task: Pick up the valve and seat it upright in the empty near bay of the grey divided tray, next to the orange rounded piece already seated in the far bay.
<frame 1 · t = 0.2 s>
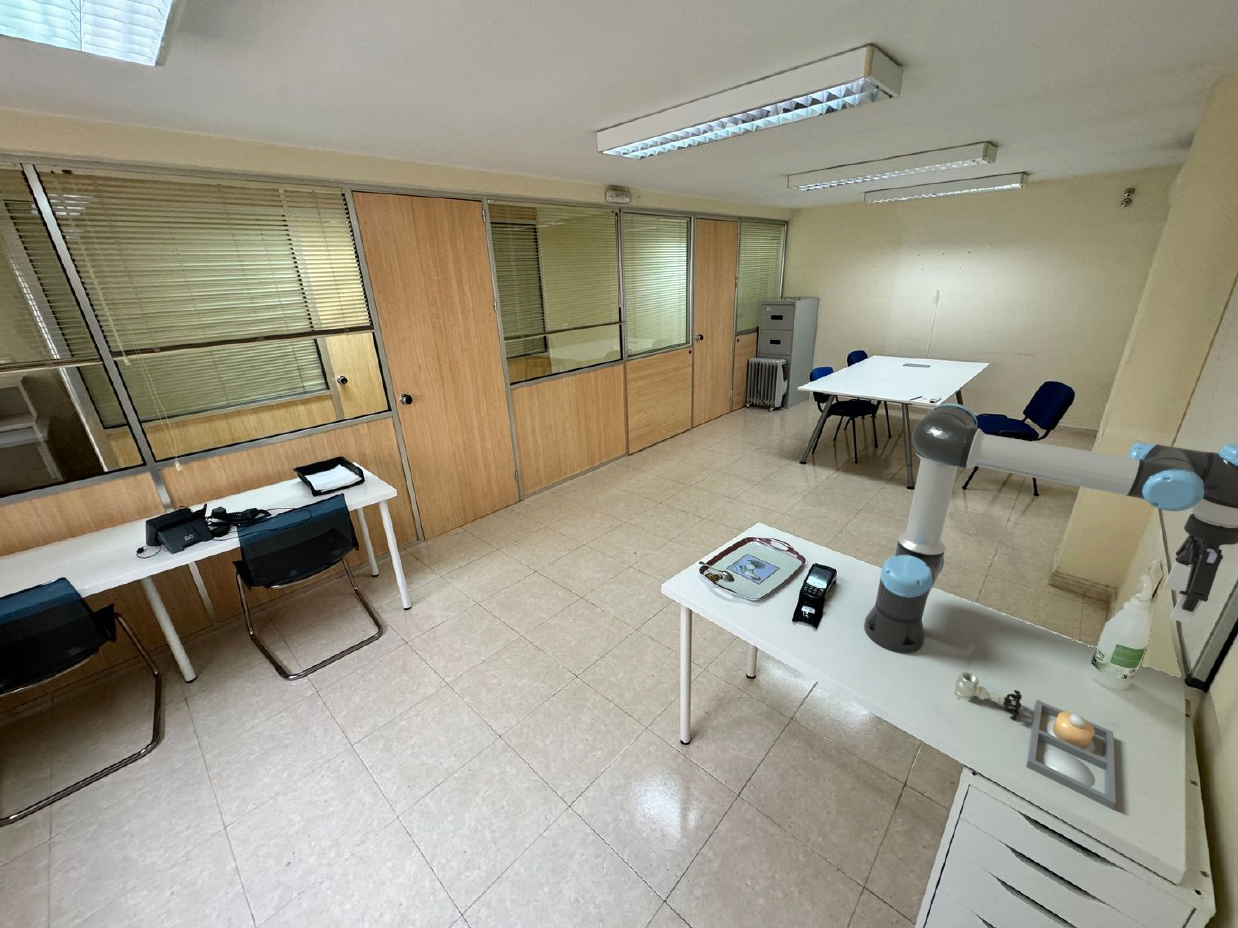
hand: (1175, 604, 105), 28 cm above the table, fingers open, 13 cm apart
orange rounded piece: (1070, 736, 106), point 1 cm above the table, touching grey divided tray
valve: (982, 704, 116), on the table
grey divided tray: (1068, 754, 103), on the table
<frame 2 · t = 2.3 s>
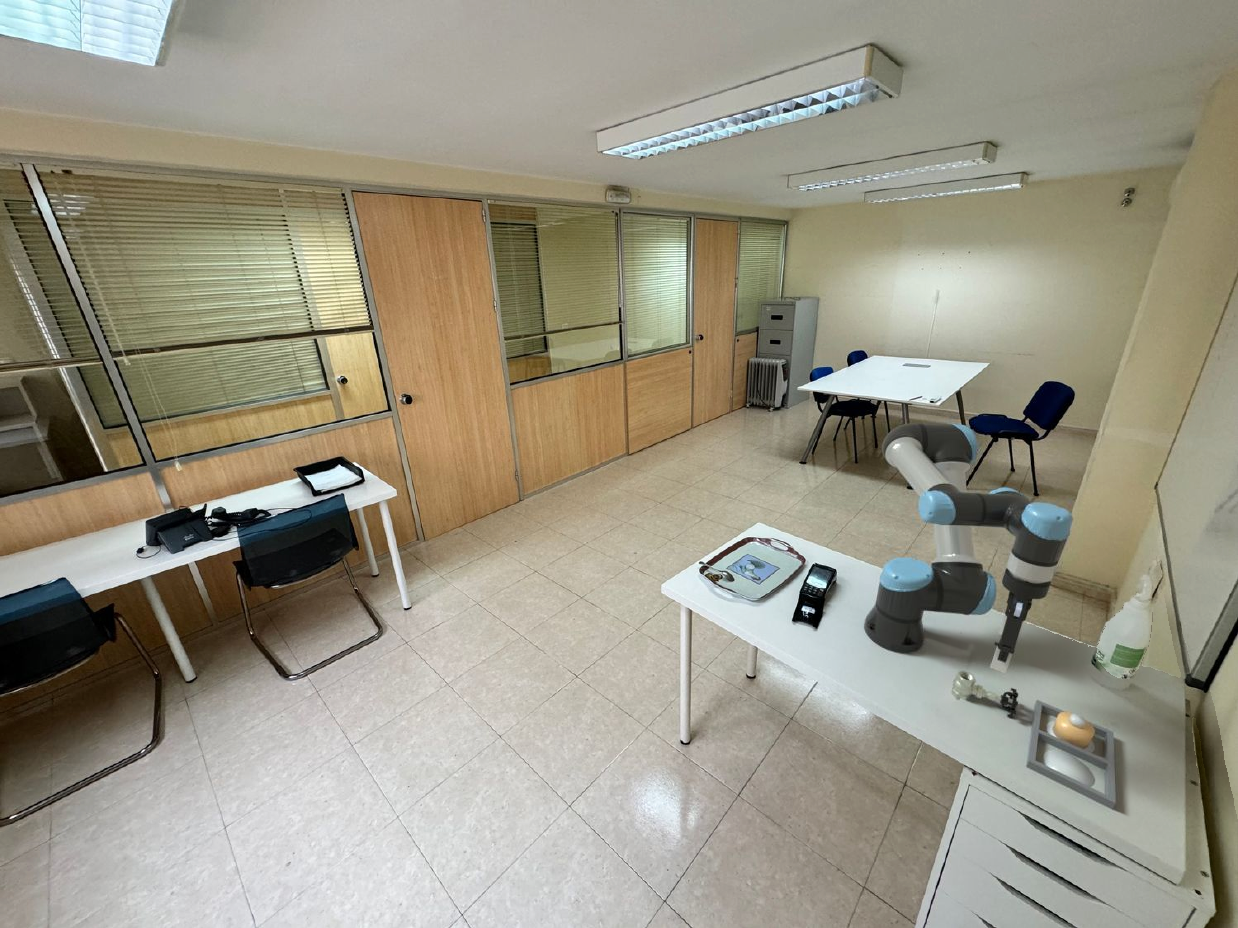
hand: (1002, 651, 109), 17 cm above the table, fingers open, 13 cm apart
nothing on the table moved.
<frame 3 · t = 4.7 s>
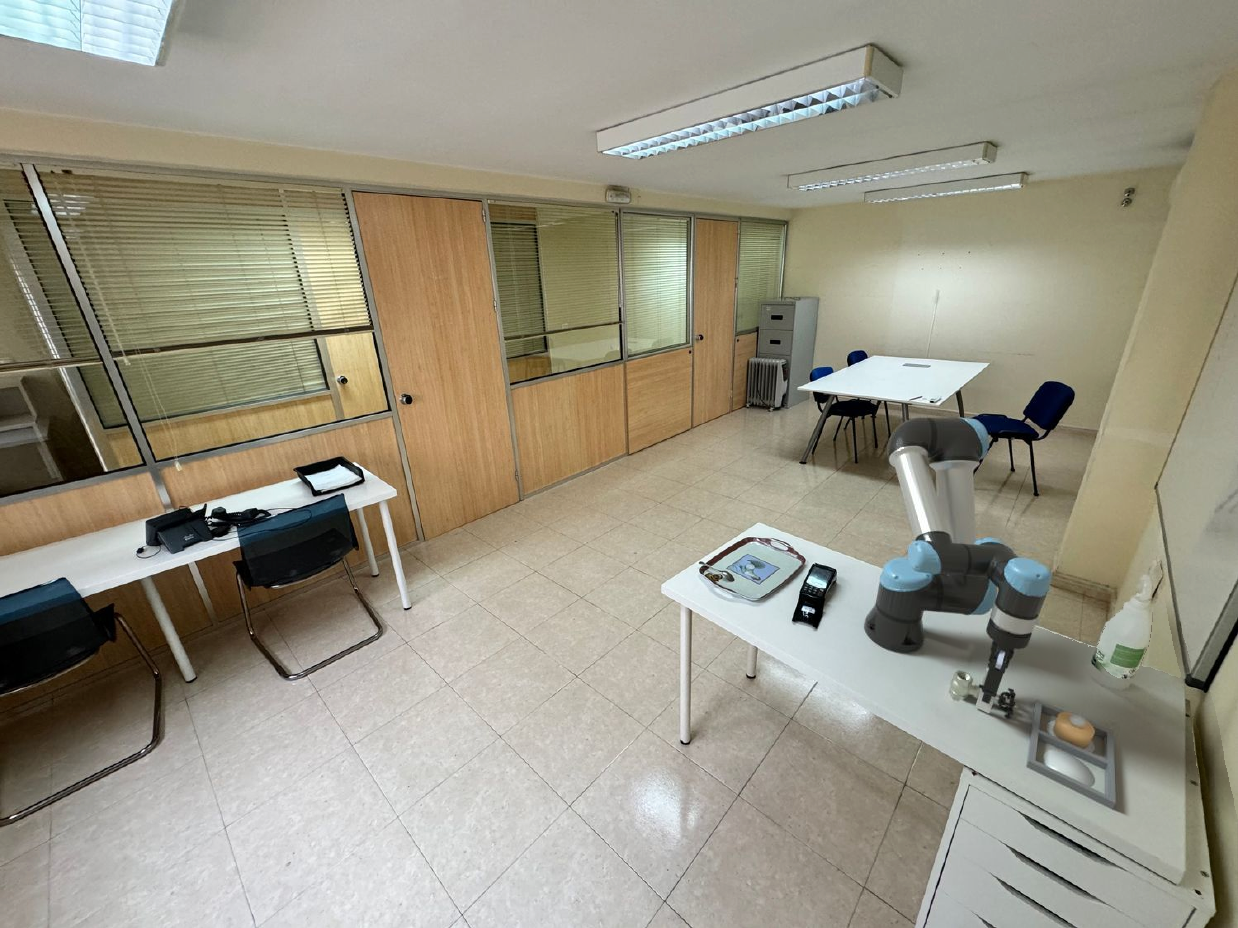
hand: (984, 699, 115), 1 cm above the table, fingers closed on valve, 6 cm apart
valve: (976, 703, 116), on the table, touching gripper
everything else where it was.
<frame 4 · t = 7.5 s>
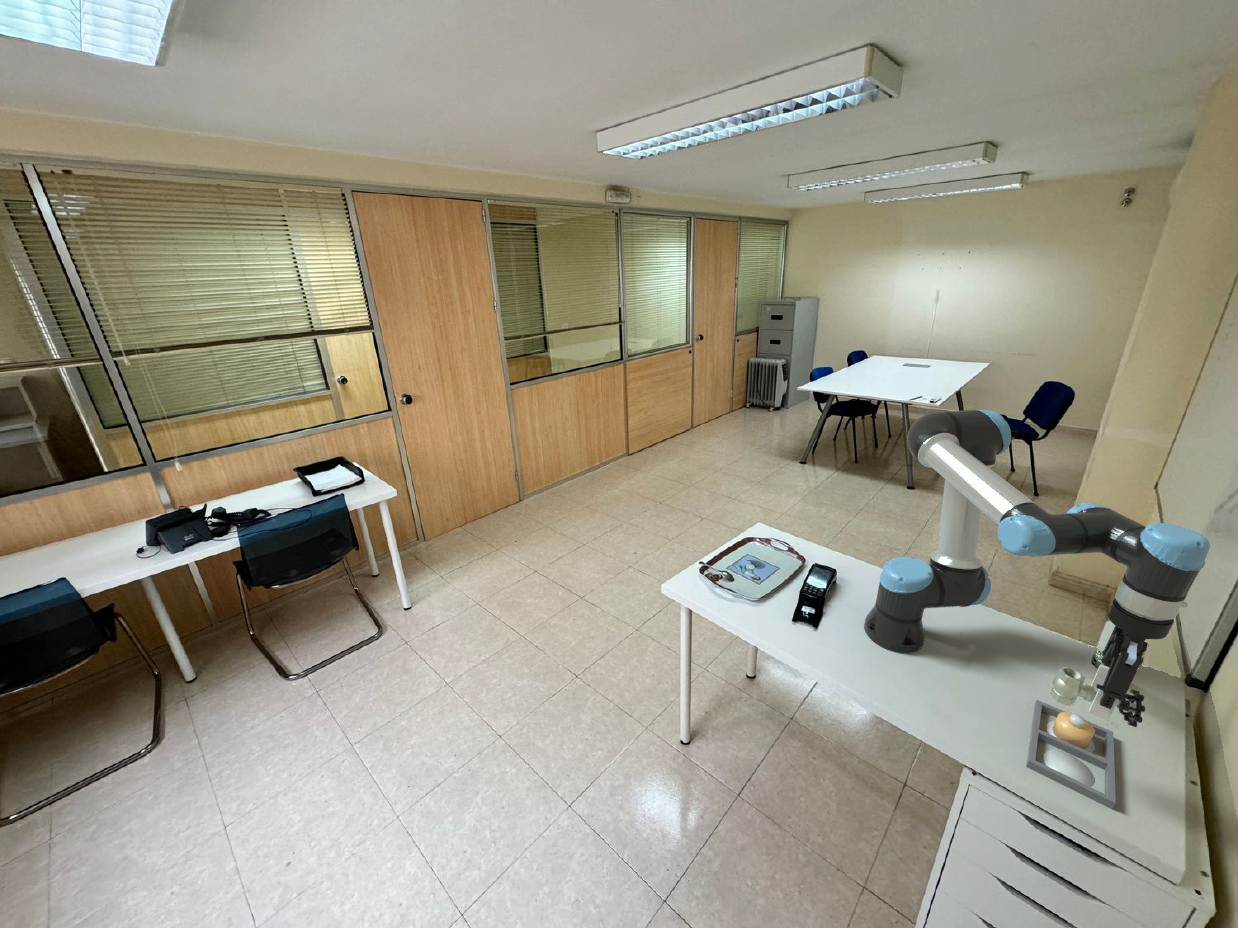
hand: (1098, 703, 93), 19 cm above the table, fingers closed on valve, 6 cm apart
valve: (1087, 707, 94), point 18 cm above the table, touching gripper
everything else where it was.
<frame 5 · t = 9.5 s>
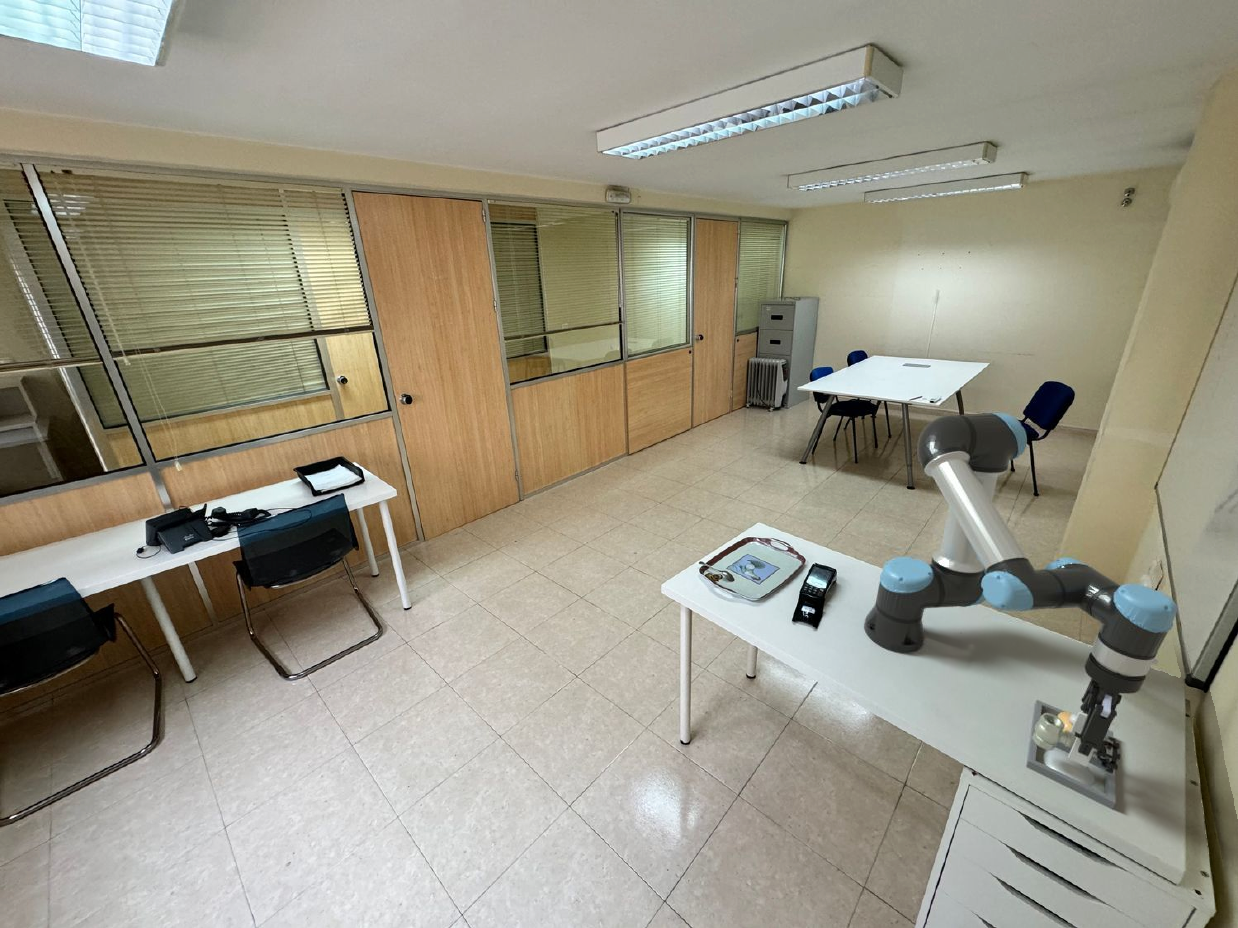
hand: (1077, 749, 97), 7 cm above the table, fingers closed on valve, 6 cm apart
valve: (1067, 752, 98), point 5 cm above the table, touching gripper
everything else where it was.
when the fingers open (4 cm above the table, at t = 10.8 s): valve stays where it is, resting on grey divided tray.
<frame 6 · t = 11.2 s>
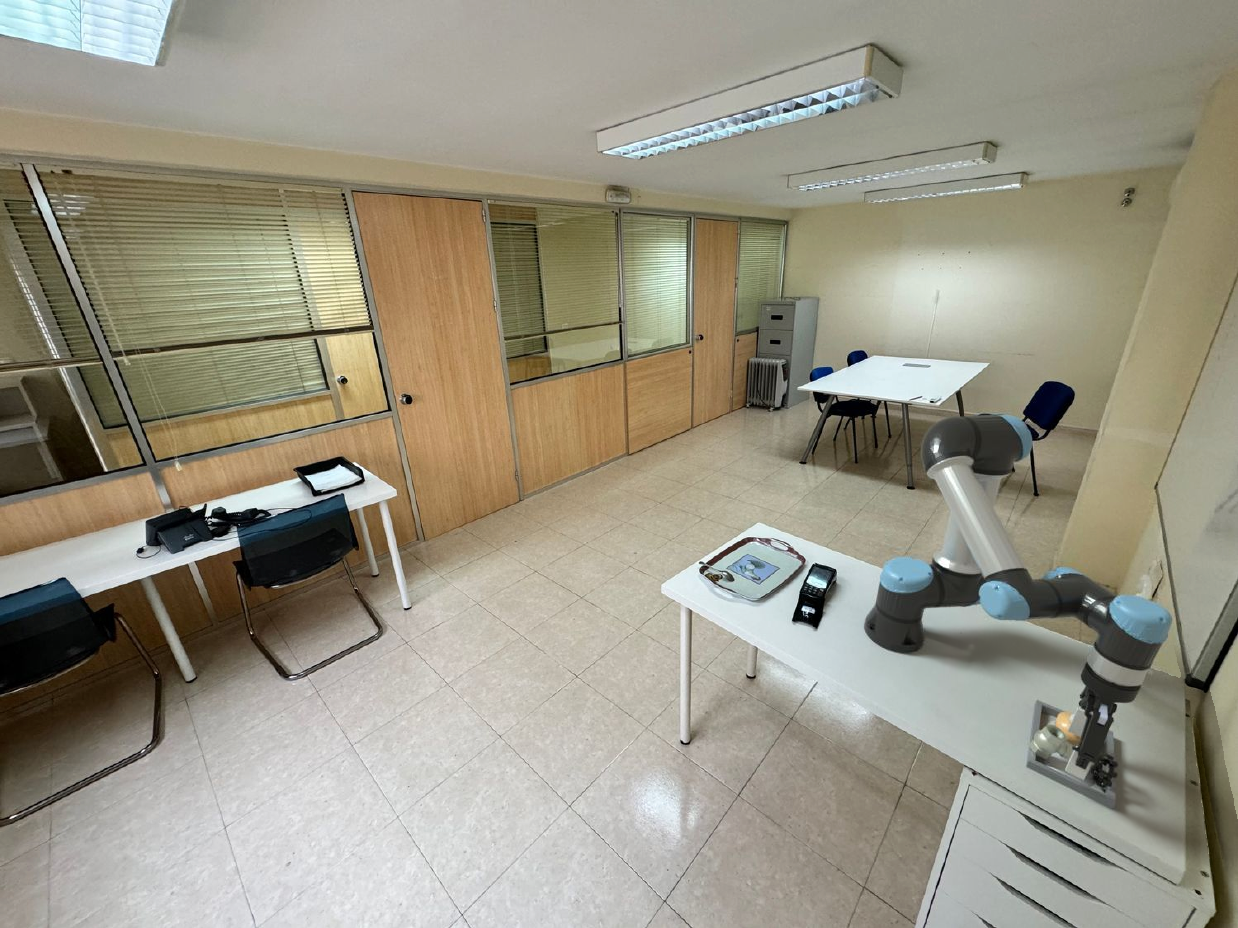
hand: (1075, 753, 98), 5 cm above the table, fingers open, 11 cm apart
valve: (1061, 762, 100), point 2 cm above the table, touching grey divided tray
everything else where it was.
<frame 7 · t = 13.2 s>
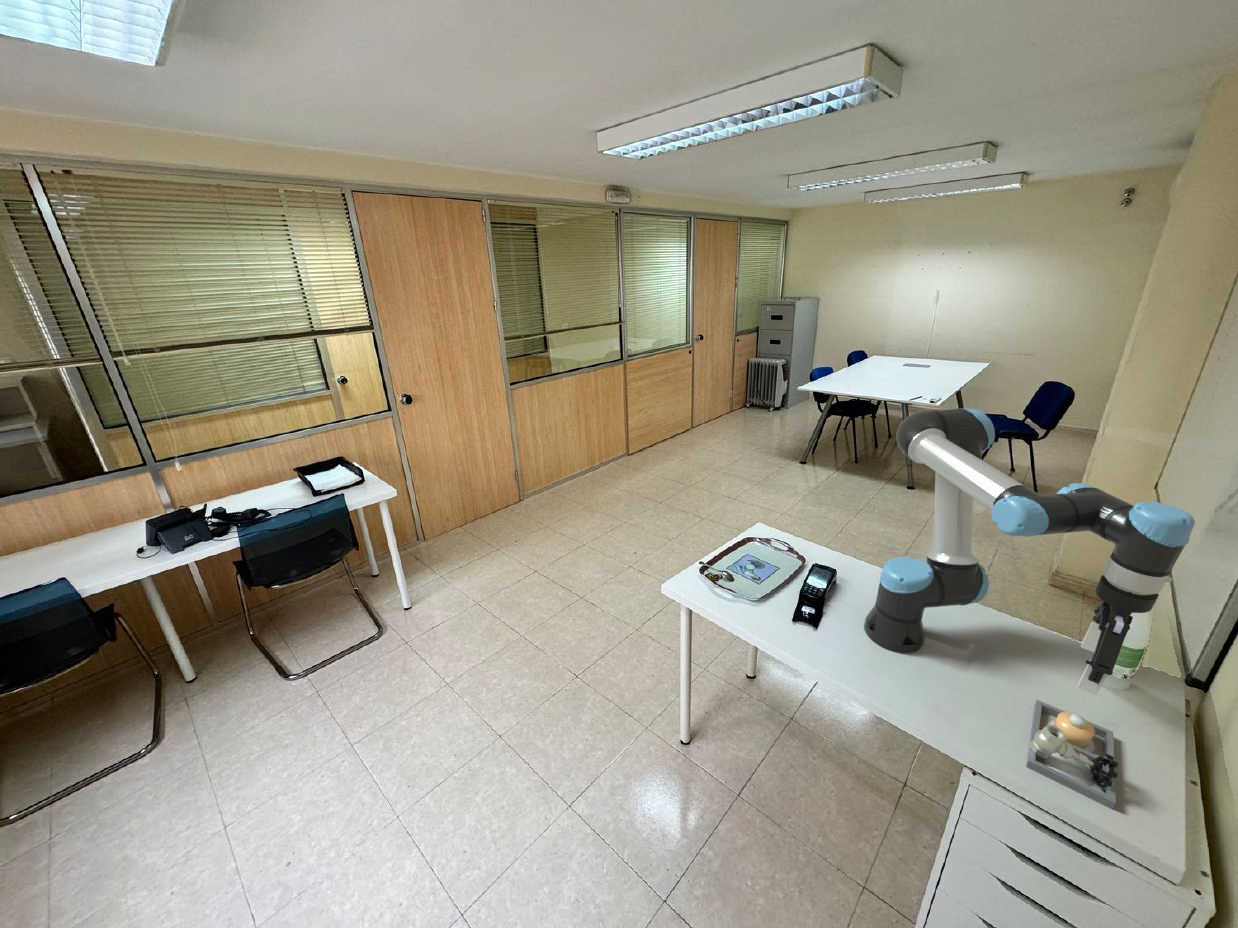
hand: (1088, 669, 96), 23 cm above the table, fingers open, 13 cm apart
nothing on the table moved.
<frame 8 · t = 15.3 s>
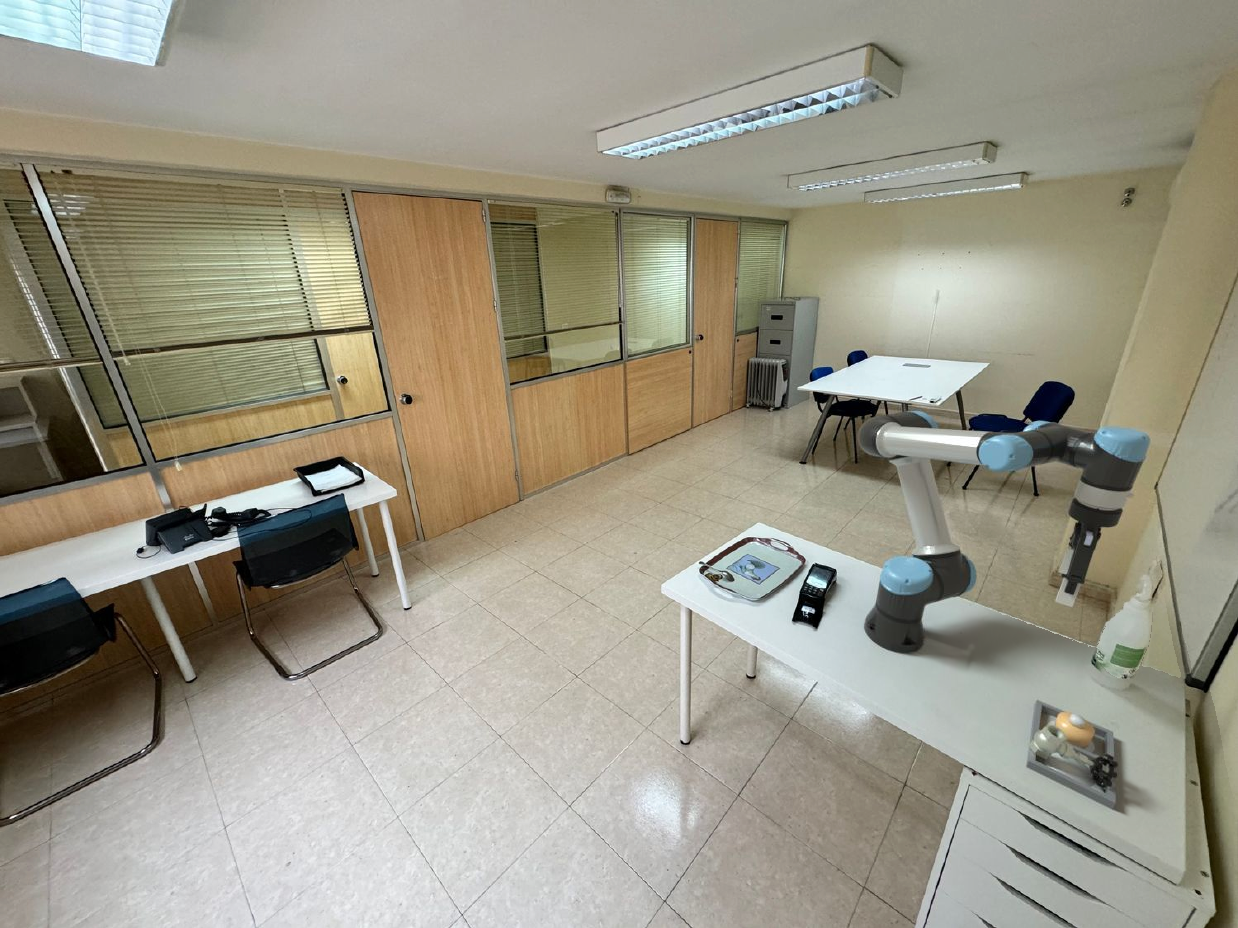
hand: (1065, 588, 105), 32 cm above the table, fingers open, 13 cm apart
nothing on the table moved.
at the end: valve inside the target area on the grey divided tray (1.3 cm from its centre), point 1.6 cm above the grey divided tray's base; valve tilted 11°; the gripper is holding nothing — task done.
